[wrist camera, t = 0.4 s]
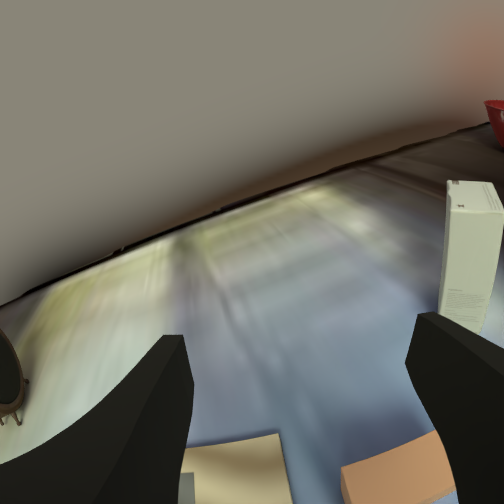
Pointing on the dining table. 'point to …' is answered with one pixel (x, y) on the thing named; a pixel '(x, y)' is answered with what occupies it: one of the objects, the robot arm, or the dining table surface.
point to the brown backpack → (10, 380)
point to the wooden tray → (235, 473)
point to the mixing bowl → (496, 118)
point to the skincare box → (470, 252)
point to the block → (400, 475)
